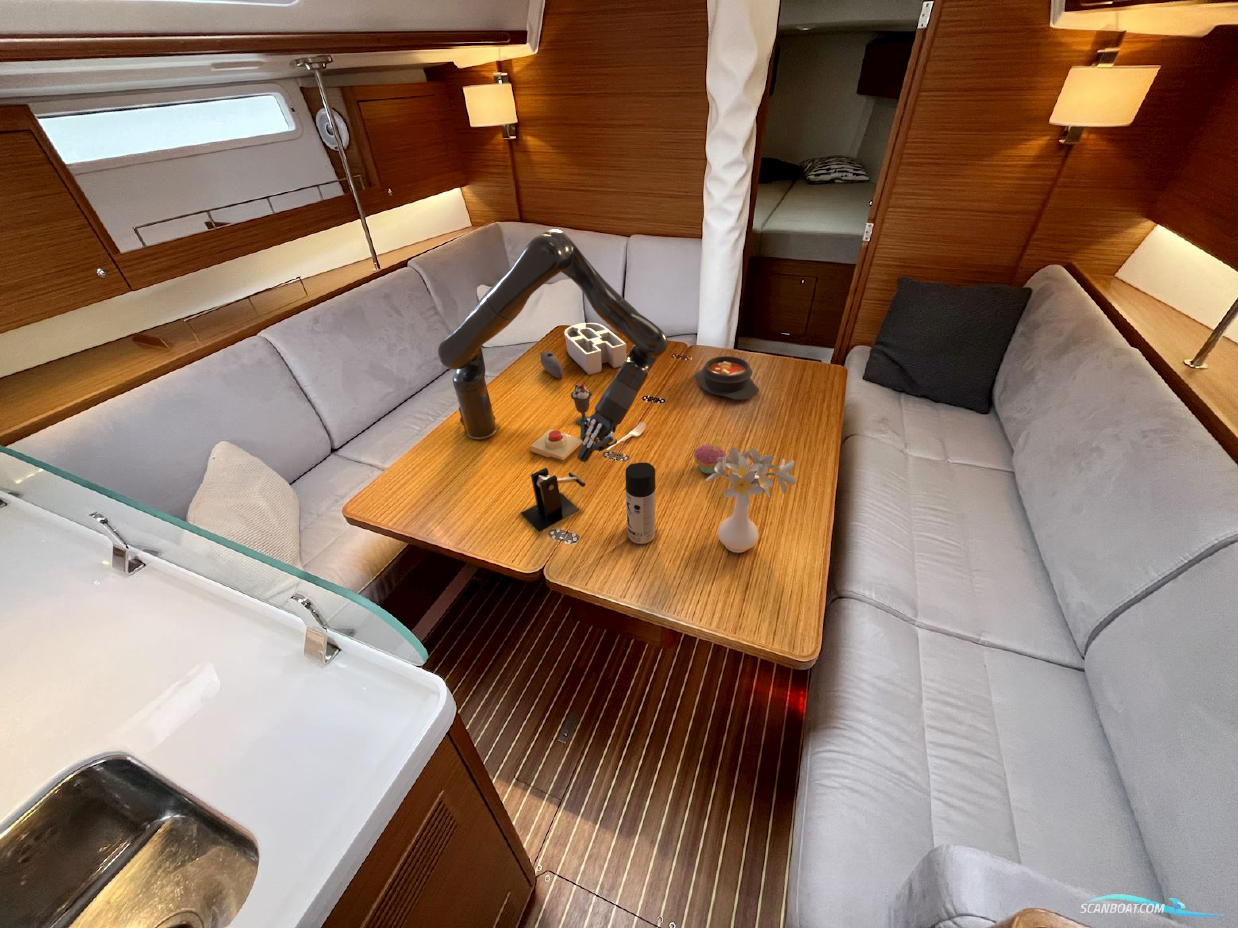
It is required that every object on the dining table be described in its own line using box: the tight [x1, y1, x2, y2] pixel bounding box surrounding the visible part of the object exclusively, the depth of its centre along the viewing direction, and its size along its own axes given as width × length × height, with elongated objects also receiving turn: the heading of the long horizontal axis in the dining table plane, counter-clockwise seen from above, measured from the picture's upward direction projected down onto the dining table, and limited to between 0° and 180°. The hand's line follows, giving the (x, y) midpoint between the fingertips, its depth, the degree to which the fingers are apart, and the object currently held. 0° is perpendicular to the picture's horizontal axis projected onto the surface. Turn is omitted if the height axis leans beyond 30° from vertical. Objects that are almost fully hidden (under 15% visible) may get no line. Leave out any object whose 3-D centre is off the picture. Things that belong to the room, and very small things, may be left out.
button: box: [549, 429, 562, 442], centre depth 147 cm, size 4×4×2 cm
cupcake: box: [693, 434, 726, 475], centre depth 135 cm, size 9×8×12 cm
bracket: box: [520, 467, 580, 533], centre depth 123 cm, size 12×9×13 cm
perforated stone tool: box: [540, 350, 564, 380], centre depth 186 cm, size 15×5×7 cm, turn 28°
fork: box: [605, 421, 648, 451], centre depth 150 cm, size 3×20×2 cm, turn 137°
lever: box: [537, 471, 586, 488], centre depth 124 cm, size 12×6×2 cm, turn 129°
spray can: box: [625, 461, 657, 545], centre depth 114 cm, size 7×7×20 cm
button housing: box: [529, 428, 583, 461], centre depth 149 cm, size 12×10×4 cm
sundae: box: [570, 381, 593, 426], centre depth 156 cm, size 7×7×15 cm
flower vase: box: [705, 446, 797, 554], centre depth 109 cm, size 13×18×25 cm
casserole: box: [694, 355, 760, 401], centre depth 171 cm, size 25×19×8 cm
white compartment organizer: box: [564, 322, 627, 375], centre depth 196 cm, size 17×28×9 cm, turn 27°
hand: (580, 460), depth 125 cm, fingers closed
